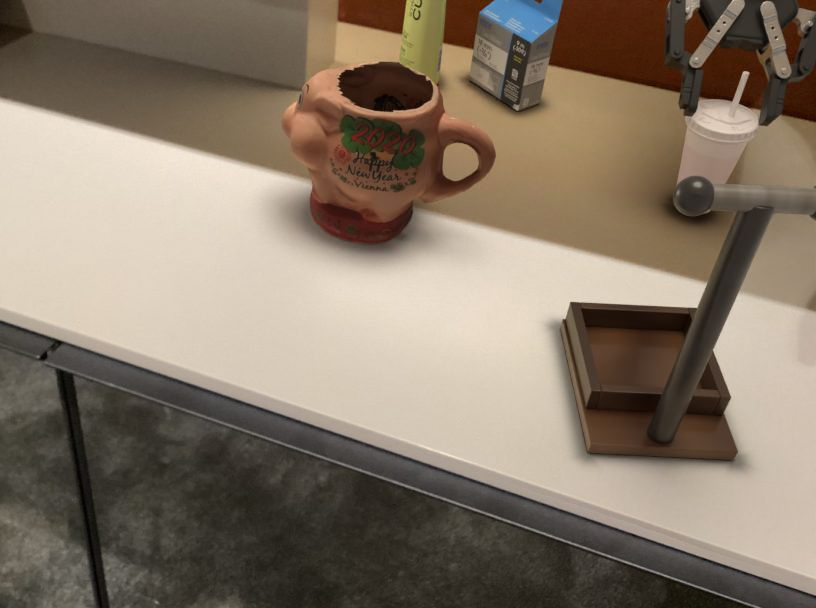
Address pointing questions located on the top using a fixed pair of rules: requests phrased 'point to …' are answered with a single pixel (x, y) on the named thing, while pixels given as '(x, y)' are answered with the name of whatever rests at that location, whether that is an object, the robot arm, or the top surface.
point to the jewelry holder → (671, 341)
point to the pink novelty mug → (377, 147)
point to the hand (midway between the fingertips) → (727, 118)
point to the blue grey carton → (514, 49)
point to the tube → (423, 36)
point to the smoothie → (717, 137)
